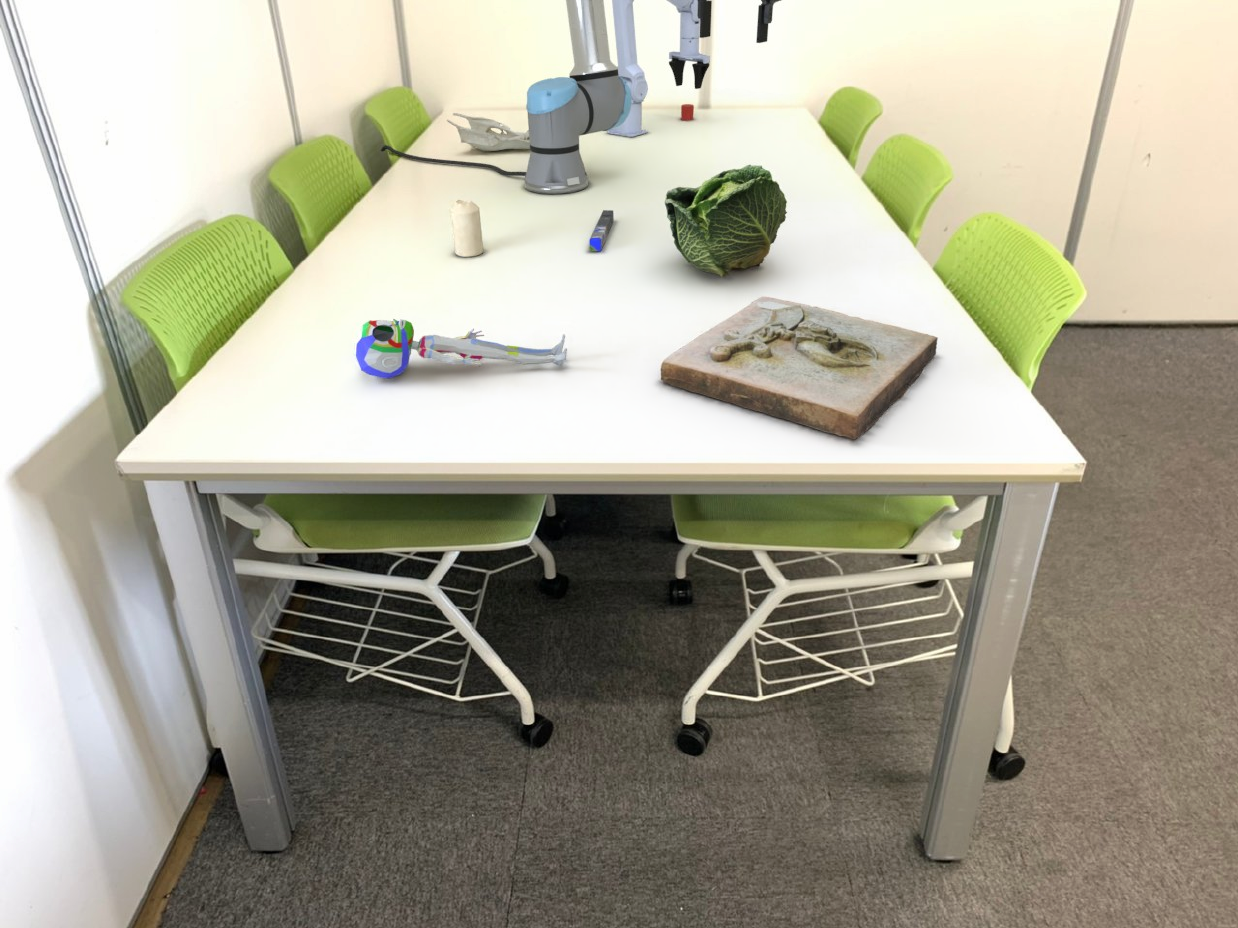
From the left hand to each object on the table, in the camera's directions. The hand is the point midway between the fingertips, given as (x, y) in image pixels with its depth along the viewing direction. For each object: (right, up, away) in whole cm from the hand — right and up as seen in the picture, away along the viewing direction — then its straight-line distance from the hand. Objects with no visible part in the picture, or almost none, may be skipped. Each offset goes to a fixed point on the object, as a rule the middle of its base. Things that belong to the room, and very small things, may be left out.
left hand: (732, 40), depth 178 cm
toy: (-45, -71, -46) cm, 96 cm away
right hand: (-2, +30, +94) cm, 98 cm away
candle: (-52, -43, -3) cm, 68 cm away
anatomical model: (-57, +2, +69) cm, 89 cm away
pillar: (-26, -38, +4) cm, 46 cm away
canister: (-2, +22, +99) cm, 102 cm away
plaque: (+4, -71, -48) cm, 86 cm away
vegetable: (-3, -48, -13) cm, 50 cm away
